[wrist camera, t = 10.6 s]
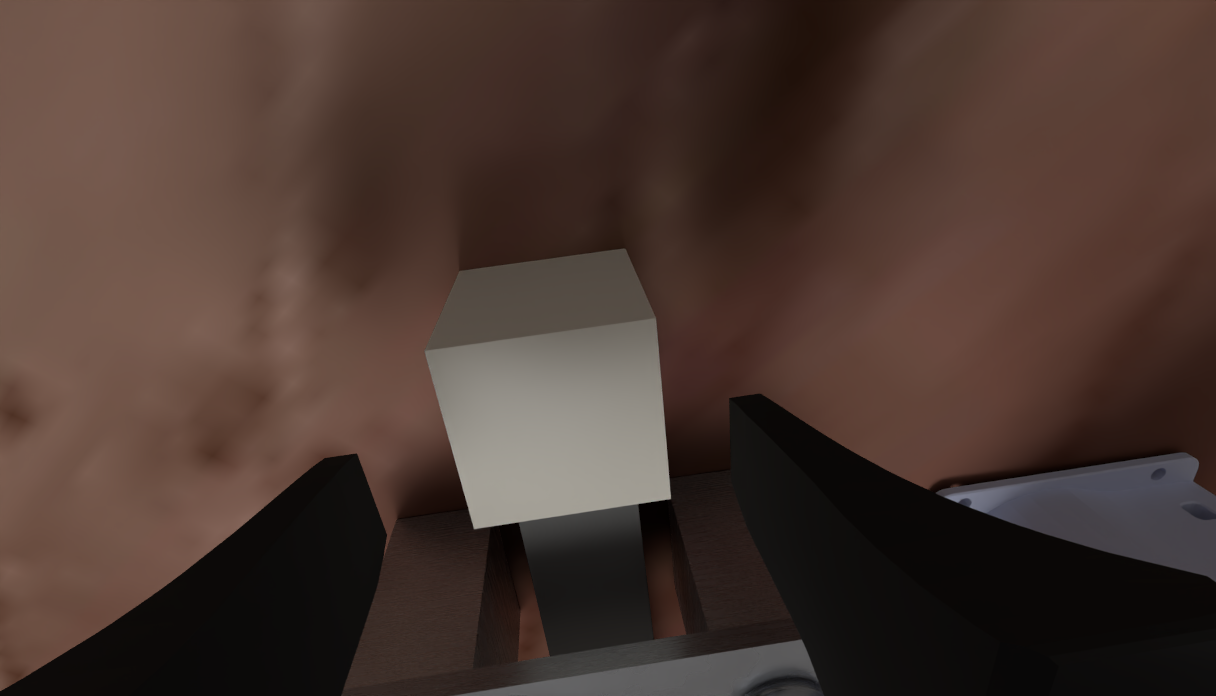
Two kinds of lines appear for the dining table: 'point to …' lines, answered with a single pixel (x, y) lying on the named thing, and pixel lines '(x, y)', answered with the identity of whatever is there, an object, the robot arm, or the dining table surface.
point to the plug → (560, 430)
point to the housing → (594, 679)
